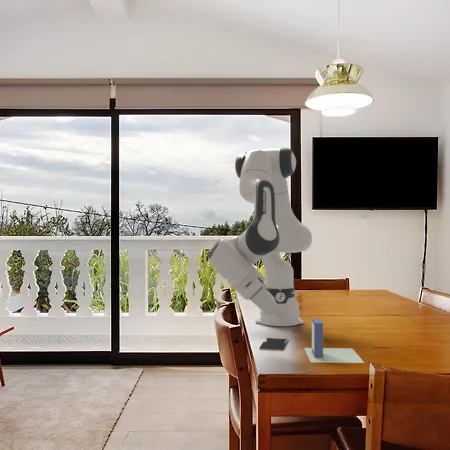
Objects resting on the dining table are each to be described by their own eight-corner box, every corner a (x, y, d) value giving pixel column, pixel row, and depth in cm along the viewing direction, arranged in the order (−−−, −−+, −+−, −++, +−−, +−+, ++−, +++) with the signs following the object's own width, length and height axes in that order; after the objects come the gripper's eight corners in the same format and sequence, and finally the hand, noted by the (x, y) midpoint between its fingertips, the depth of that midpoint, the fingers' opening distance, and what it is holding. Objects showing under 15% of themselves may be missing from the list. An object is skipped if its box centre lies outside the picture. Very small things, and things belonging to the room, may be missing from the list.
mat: (303, 349, 154) (303, 347, 154) (352, 349, 153) (352, 348, 153) (310, 363, 138) (310, 362, 138) (364, 364, 137) (364, 362, 137)
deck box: (311, 351, 149) (311, 318, 149) (319, 351, 149) (319, 319, 149) (314, 357, 143) (314, 323, 143) (323, 357, 143) (323, 323, 143)
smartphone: (258, 348, 152) (266, 337, 167) (258, 352, 152) (266, 341, 167) (283, 350, 150) (288, 338, 165) (283, 354, 150) (288, 342, 165)
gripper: (243, 288, 157) (274, 319, 156) (243, 297, 136) (278, 333, 136) (257, 274, 157) (288, 305, 156) (259, 281, 136) (295, 317, 136)
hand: (284, 318), depth 146 cm, fingers closed
